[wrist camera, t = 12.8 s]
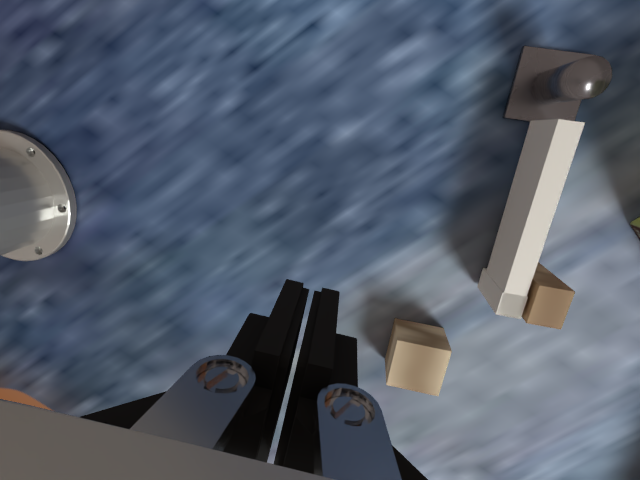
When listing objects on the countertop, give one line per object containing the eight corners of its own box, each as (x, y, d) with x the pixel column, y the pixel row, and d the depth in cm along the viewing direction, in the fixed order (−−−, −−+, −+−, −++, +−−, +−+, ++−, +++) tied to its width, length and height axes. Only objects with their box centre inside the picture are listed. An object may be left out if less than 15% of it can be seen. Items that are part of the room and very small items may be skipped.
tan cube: (385, 358, 37) (386, 384, 33) (394, 317, 36) (397, 340, 32) (431, 368, 36) (438, 396, 33) (443, 327, 35) (451, 351, 31)
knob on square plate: (502, 117, 29) (534, 114, 24) (522, 46, 28) (560, 25, 22) (569, 127, 29) (617, 126, 23) (592, 56, 28) (650, 37, 22)
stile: (497, 289, 33) (523, 322, 28) (507, 257, 32) (536, 284, 27) (528, 294, 33) (560, 329, 27) (539, 263, 32) (575, 291, 26)
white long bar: (525, 120, 29) (556, 118, 24) (549, 124, 29) (586, 123, 24) (477, 286, 33) (495, 314, 28) (498, 290, 33) (520, 318, 28)
